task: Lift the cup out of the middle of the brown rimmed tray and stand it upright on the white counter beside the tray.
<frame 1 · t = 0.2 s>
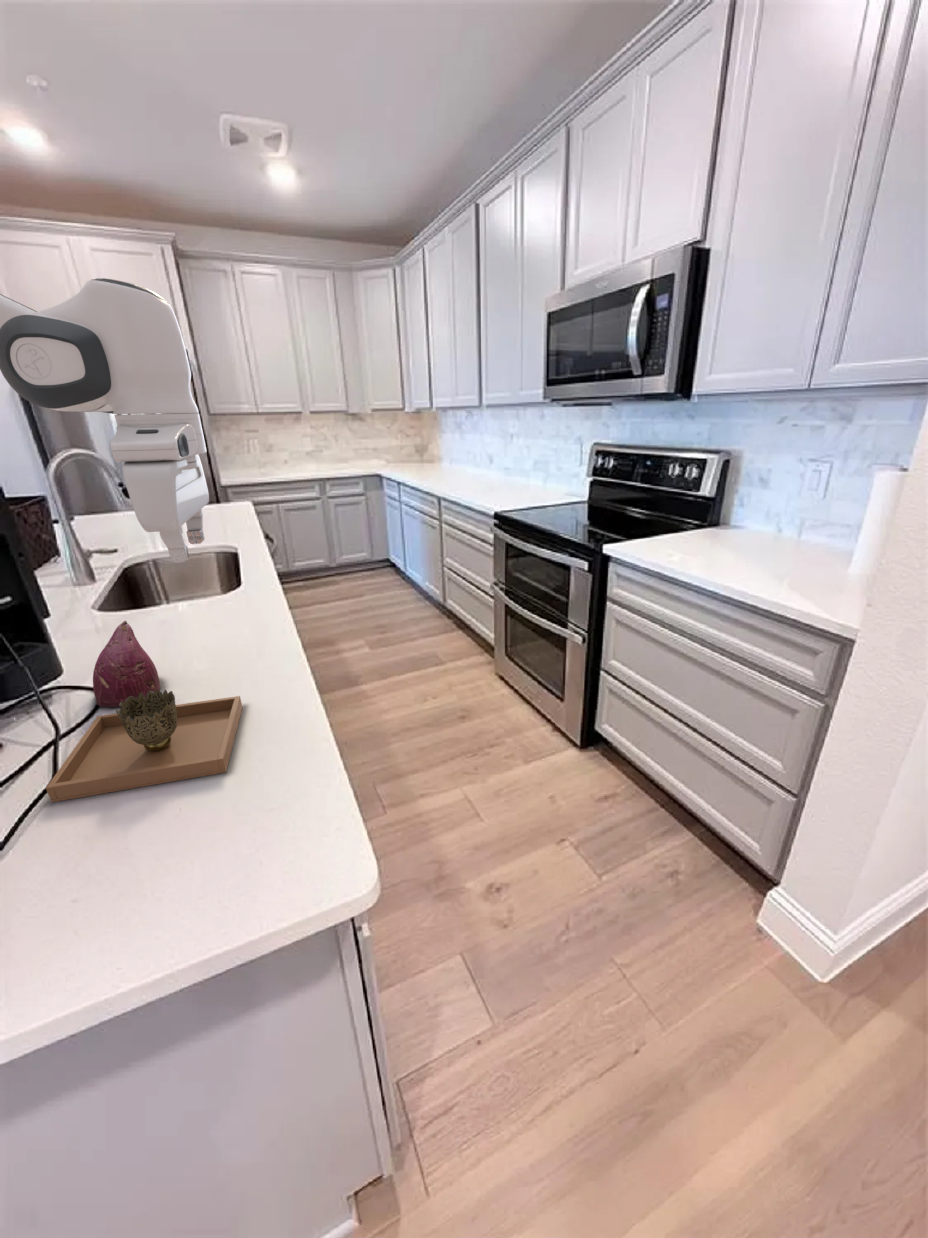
hand: (189, 551, 67), 31 cm above the table, tool pointing down, fingers open, 8 cm apart
vegetable: (130, 694, 93), on the table
cup: (159, 747, 77), resting in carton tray
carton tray: (159, 748, 78), on the table
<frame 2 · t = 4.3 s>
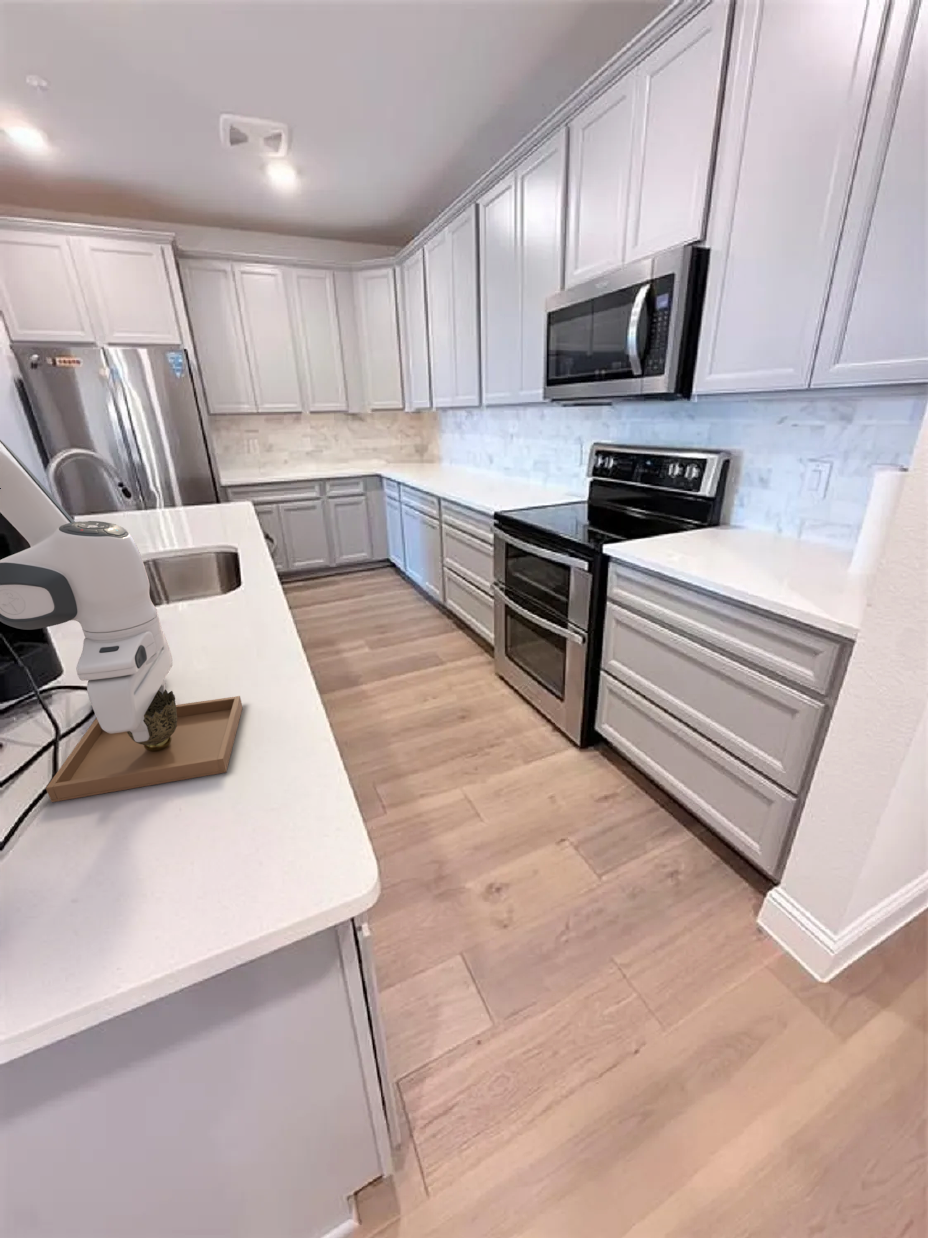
hand: (152, 722, 76), 5 cm above the table, tool pointing down, fingers closed on cup, 7 cm apart
cup: (159, 747, 77), resting in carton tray, touching gripper
everything else where it was.
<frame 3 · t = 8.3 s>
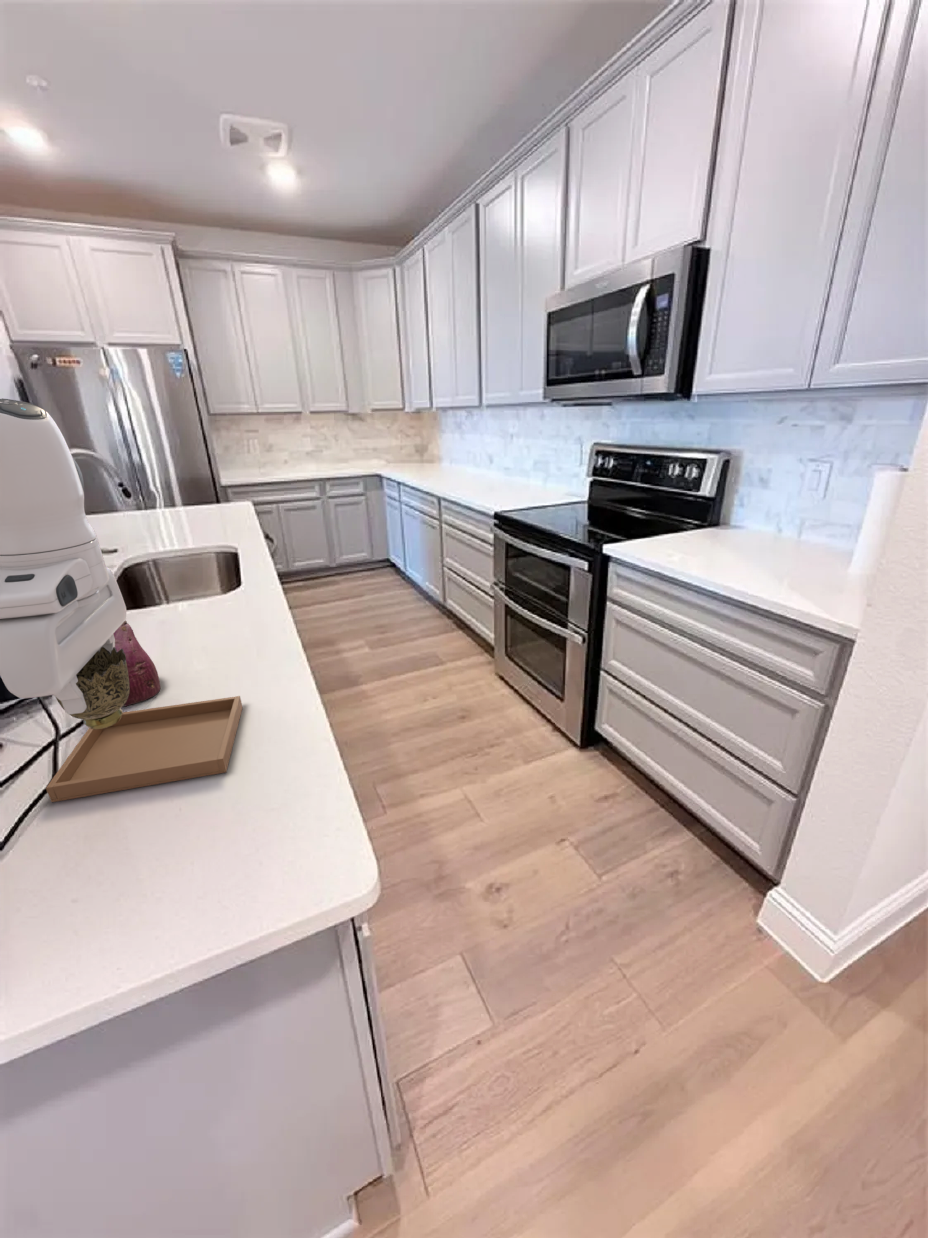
hand: (94, 690, 57), 19 cm above the table, tool pointing down, fingers closed on cup, 7 cm apart
cup: (106, 724, 58), point 15 cm above the table, touching gripper
everything else where it was.
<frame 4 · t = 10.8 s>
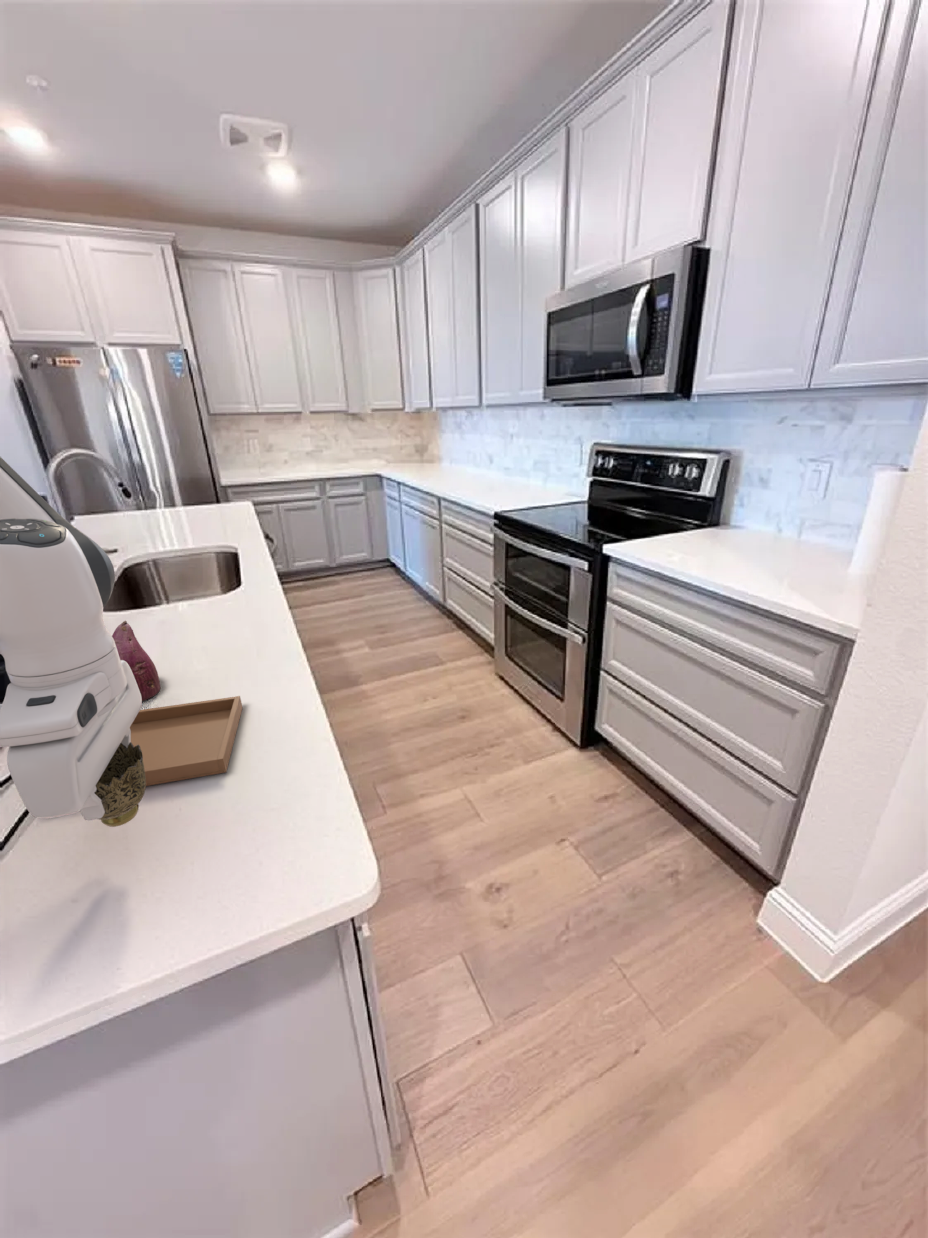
hand: (111, 788, 57), 9 cm above the table, tool pointing down, fingers closed on cup, 7 cm apart
cup: (122, 819, 59), point 4 cm above the table, touching gripper
everything else where it was.
when the fingers open (4 cm above the table, at t = 12.5 s): cup stays where it is, on the table.
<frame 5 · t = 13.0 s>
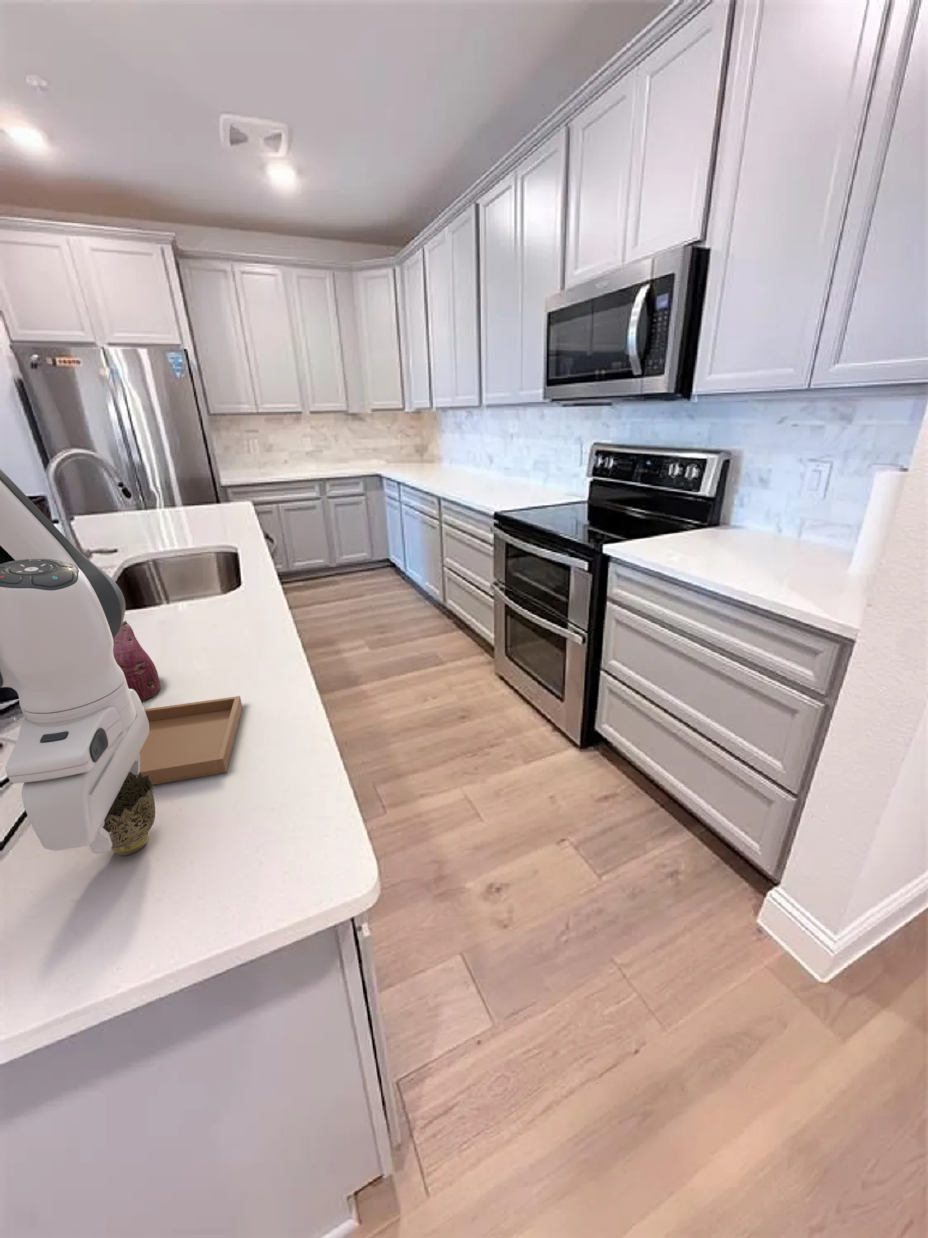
hand: (120, 816, 58), 5 cm above the table, tool pointing down, fingers open, 8 cm apart
cup: (132, 846, 60), on the table
everything else where it was.
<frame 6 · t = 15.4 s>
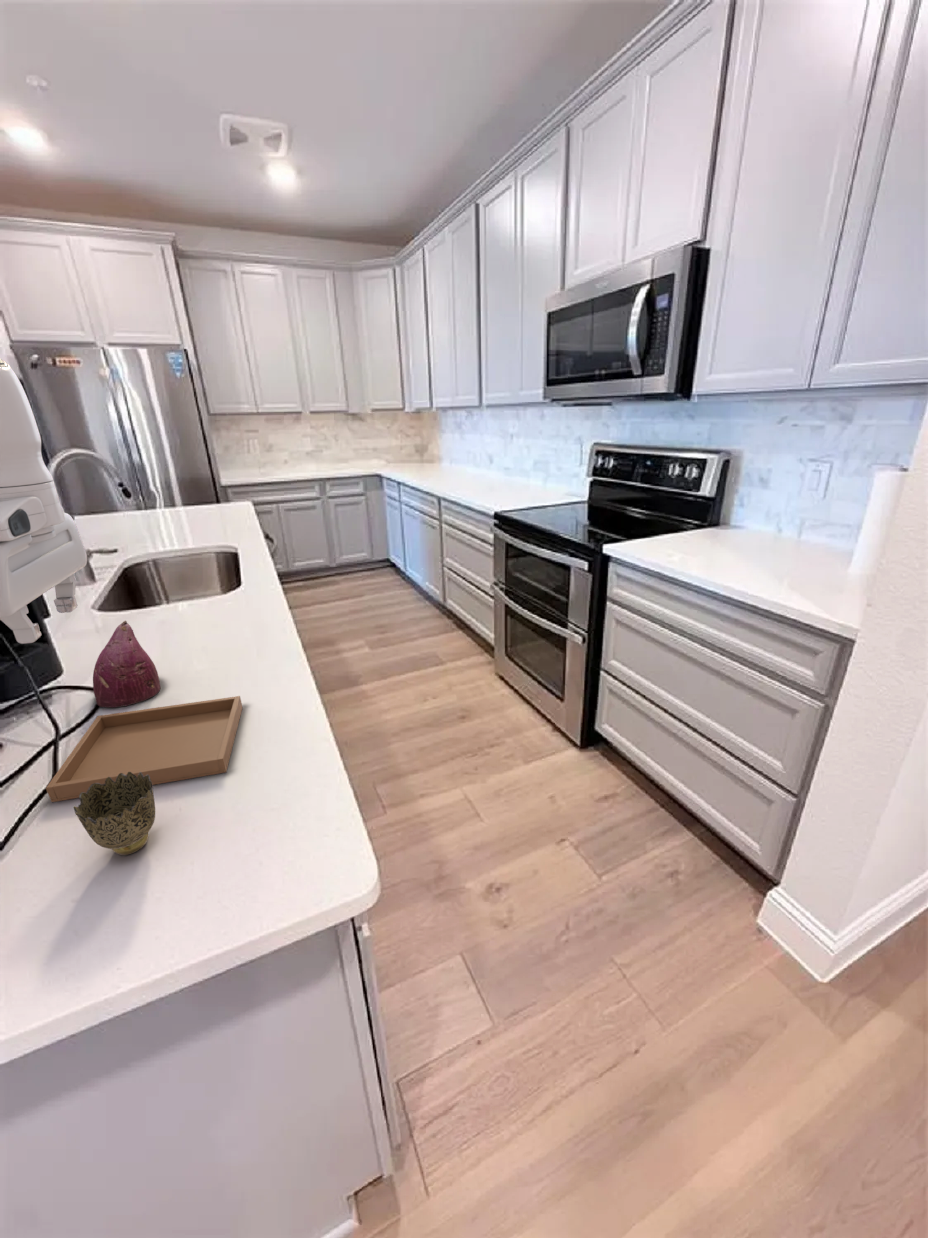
hand: (50, 624, 61), 24 cm above the table, tool pointing down, fingers open, 8 cm apart
nothing on the table moved.
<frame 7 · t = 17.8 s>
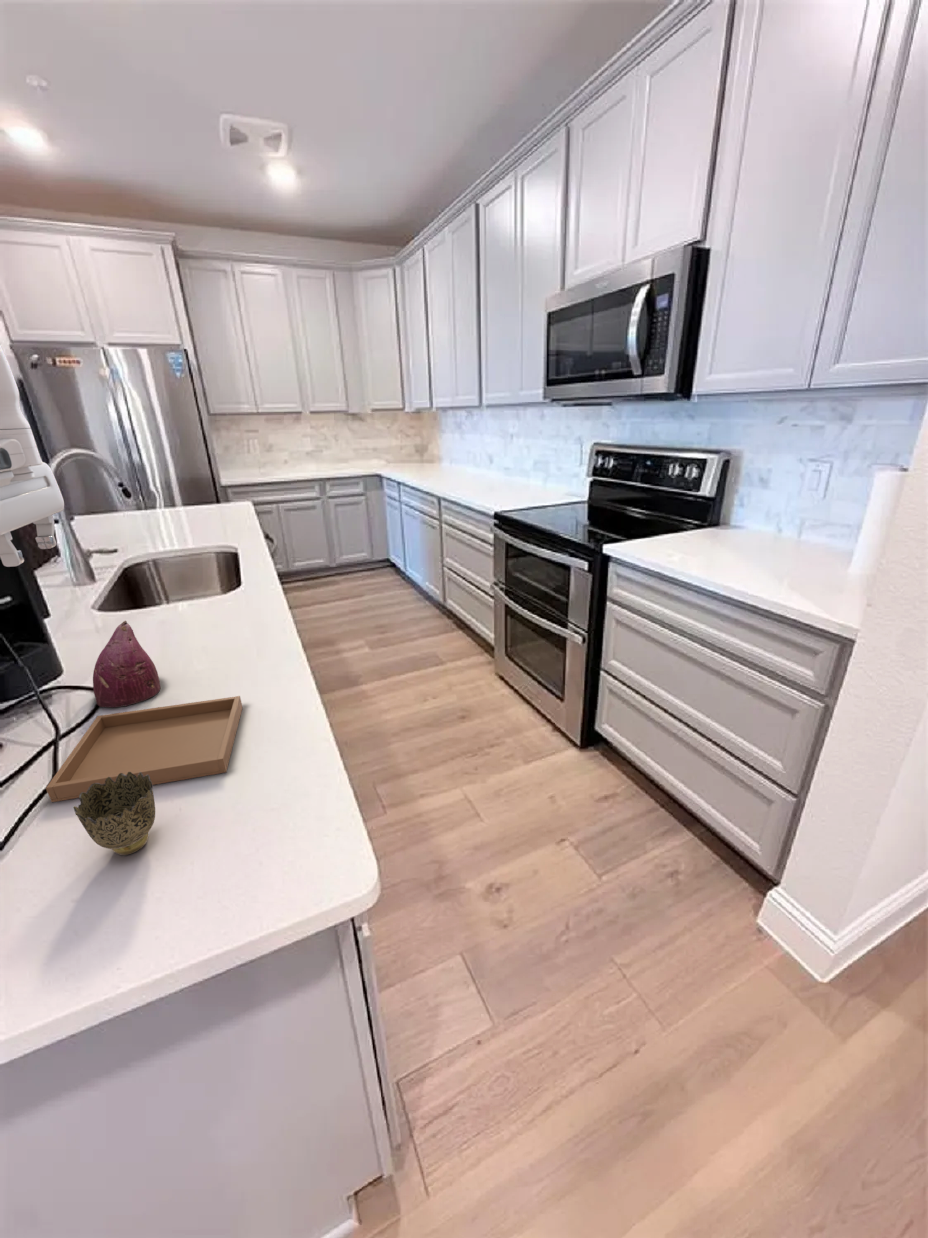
hand: (32, 555, 72), 29 cm above the table, tool pointing down, fingers open, 8 cm apart
nothing on the table moved.
at the end: cup inside the target area (0.1 cm from its centre), on the table; cup tilted 0°; cup touching table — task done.
